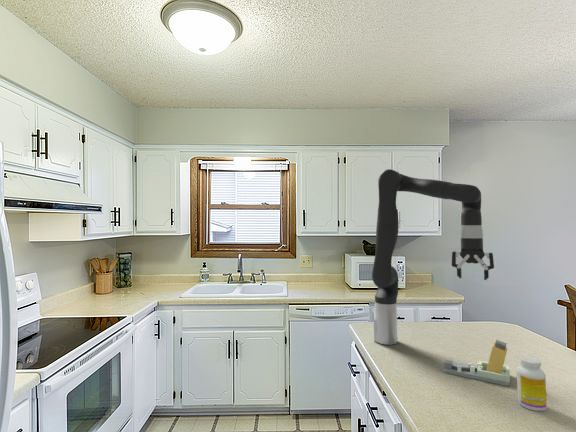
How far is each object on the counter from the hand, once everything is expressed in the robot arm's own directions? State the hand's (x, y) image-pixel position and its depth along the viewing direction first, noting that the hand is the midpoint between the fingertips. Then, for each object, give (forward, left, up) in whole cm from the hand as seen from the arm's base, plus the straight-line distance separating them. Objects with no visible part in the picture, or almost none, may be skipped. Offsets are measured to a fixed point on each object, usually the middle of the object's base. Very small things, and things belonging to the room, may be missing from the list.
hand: (472, 278), depth 129 cm
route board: (+1, -15, -30) cm, 34 cm away
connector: (+6, -15, -28) cm, 33 cm away
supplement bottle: (+16, -30, -30) cm, 46 cm away
